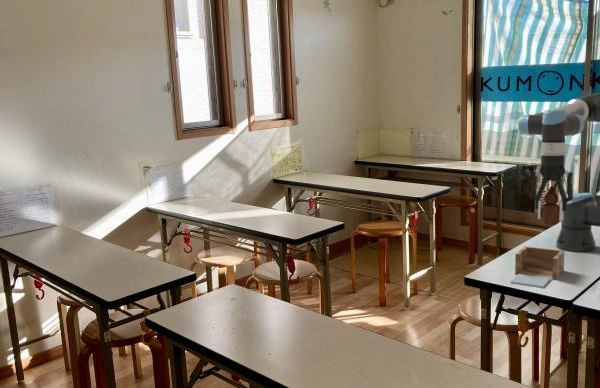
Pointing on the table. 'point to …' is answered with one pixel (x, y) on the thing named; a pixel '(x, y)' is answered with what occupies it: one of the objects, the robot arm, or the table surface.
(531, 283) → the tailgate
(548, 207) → the wooden figurine
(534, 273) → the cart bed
